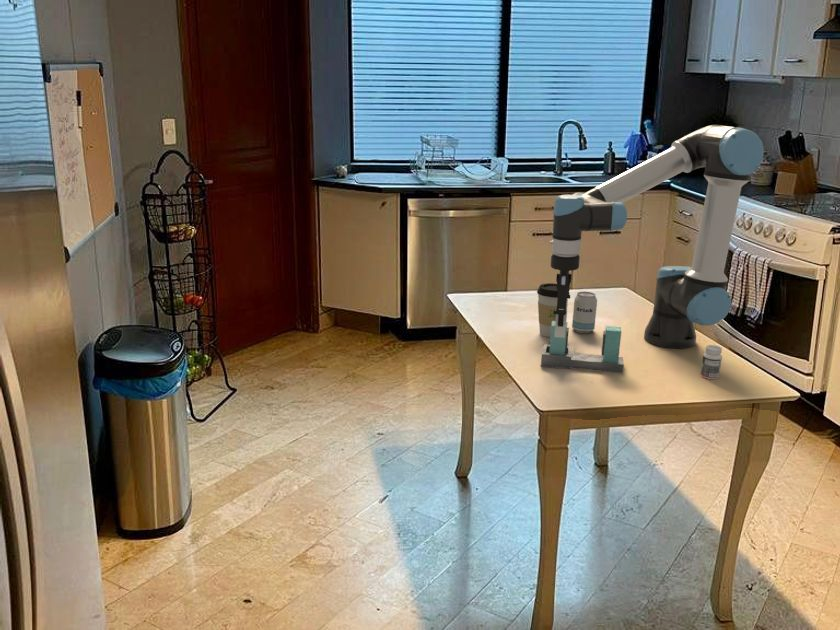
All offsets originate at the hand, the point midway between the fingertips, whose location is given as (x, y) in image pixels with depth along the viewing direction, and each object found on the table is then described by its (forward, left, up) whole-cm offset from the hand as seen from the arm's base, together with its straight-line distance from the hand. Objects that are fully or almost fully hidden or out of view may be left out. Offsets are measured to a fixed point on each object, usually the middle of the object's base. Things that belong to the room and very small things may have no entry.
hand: (560, 329), depth 219 cm
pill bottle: (-41, -1, -10) cm, 42 cm away
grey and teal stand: (-7, 0, -10) cm, 12 cm away
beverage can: (-7, -31, -10) cm, 33 cm away
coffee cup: (+3, -25, -10) cm, 27 cm away
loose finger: (0, 0, -7) cm, 7 cm away
